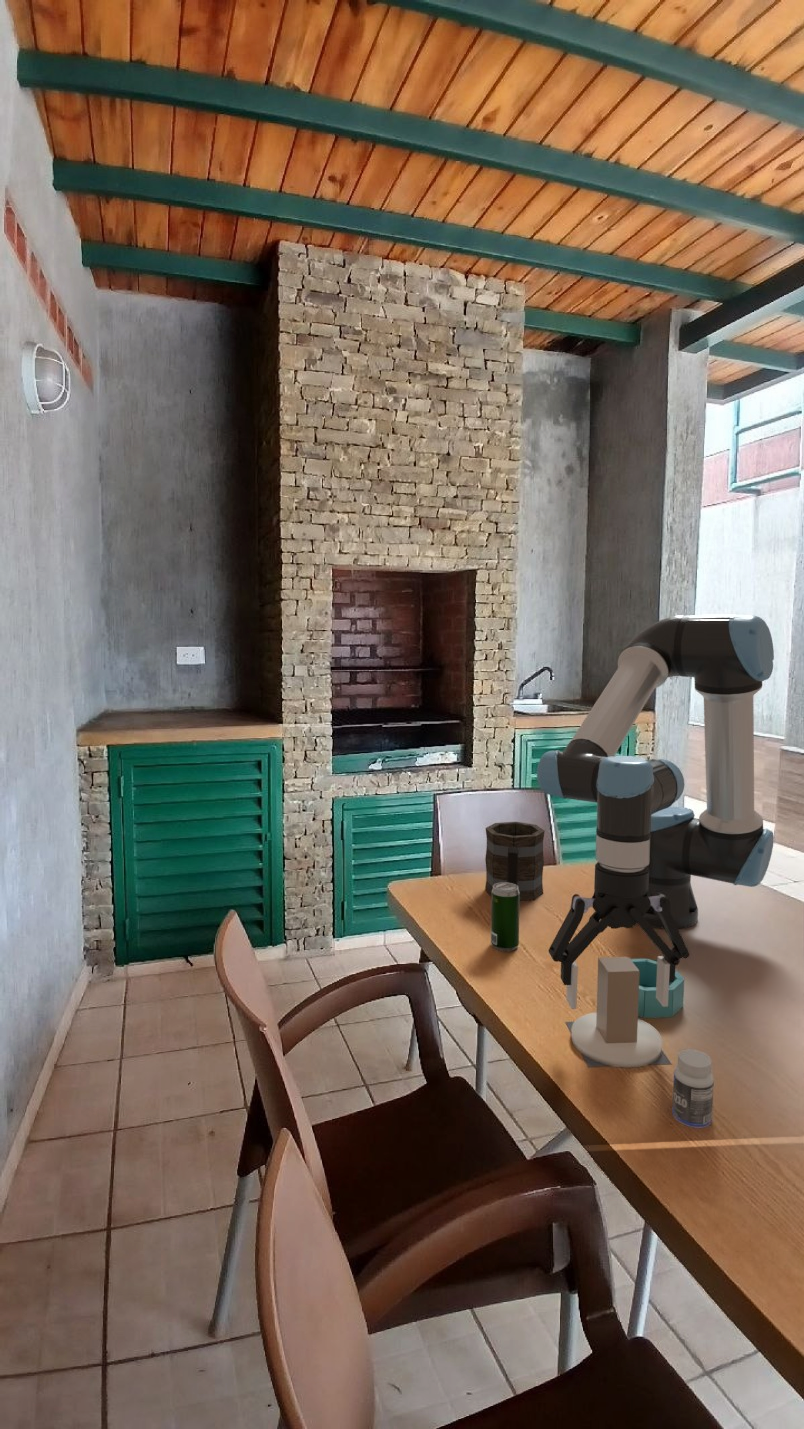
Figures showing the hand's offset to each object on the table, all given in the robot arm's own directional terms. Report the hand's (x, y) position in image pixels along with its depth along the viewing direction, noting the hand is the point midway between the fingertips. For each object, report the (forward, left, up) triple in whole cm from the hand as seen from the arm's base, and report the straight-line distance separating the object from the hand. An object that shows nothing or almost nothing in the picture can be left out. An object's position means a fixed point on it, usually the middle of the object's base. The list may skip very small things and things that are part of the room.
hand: (616, 1003), depth 112 cm
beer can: (+10, -35, -7) cm, 37 cm away
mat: (0, 0, -7) cm, 7 cm away
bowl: (-9, -12, -7) cm, 17 cm away
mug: (+3, -61, -7) cm, 62 cm away
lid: (0, 0, -6) cm, 6 cm away
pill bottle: (-4, +17, -7) cm, 19 cm away
